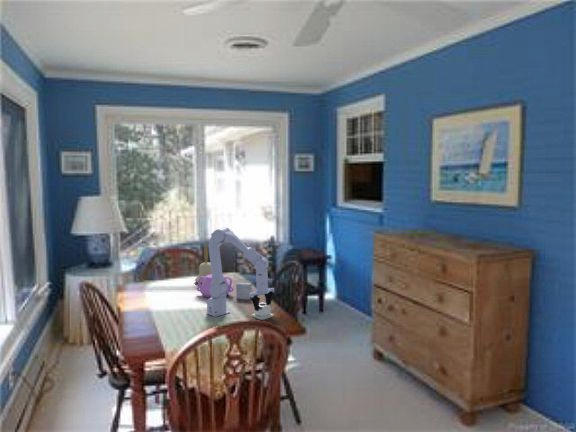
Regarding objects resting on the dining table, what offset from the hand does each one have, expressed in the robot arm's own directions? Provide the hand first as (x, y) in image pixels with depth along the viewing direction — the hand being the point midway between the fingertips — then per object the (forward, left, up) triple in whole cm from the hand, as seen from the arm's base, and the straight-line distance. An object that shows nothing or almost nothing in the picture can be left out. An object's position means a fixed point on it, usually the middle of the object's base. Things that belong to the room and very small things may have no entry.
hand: (262, 308), depth 233 cm
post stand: (0, 0, -4) cm, 4 cm away
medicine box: (+14, +32, -4) cm, 35 cm away
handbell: (+21, +80, -4) cm, 83 cm away
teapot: (+8, +51, -4) cm, 52 cm away
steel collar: (0, 0, -3) cm, 3 cm away
